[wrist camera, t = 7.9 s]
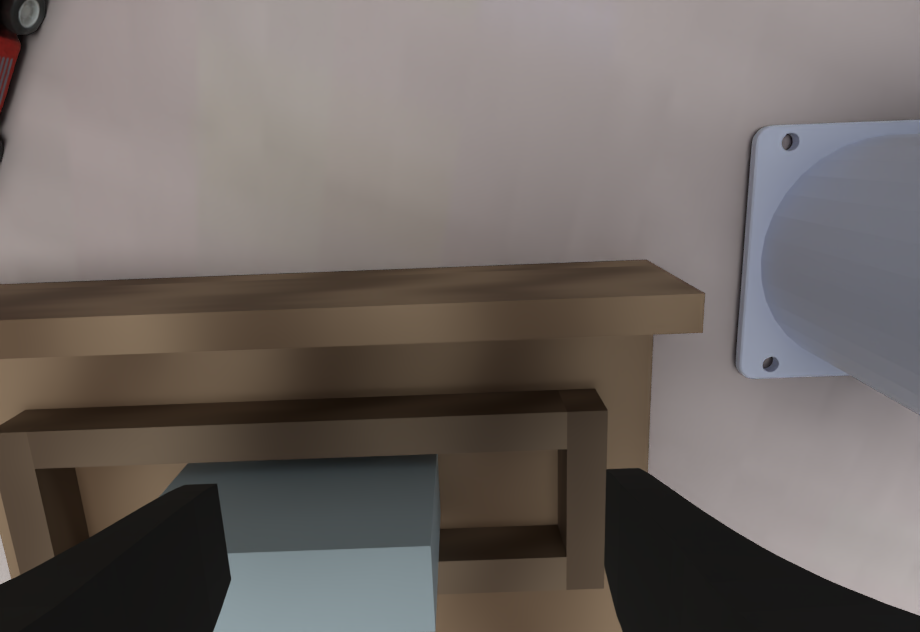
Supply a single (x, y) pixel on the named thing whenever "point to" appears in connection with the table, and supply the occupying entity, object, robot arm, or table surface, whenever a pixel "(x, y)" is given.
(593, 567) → the track base
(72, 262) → the table surface
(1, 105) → the toy fire truck
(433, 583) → the grey-blue rectangular block
